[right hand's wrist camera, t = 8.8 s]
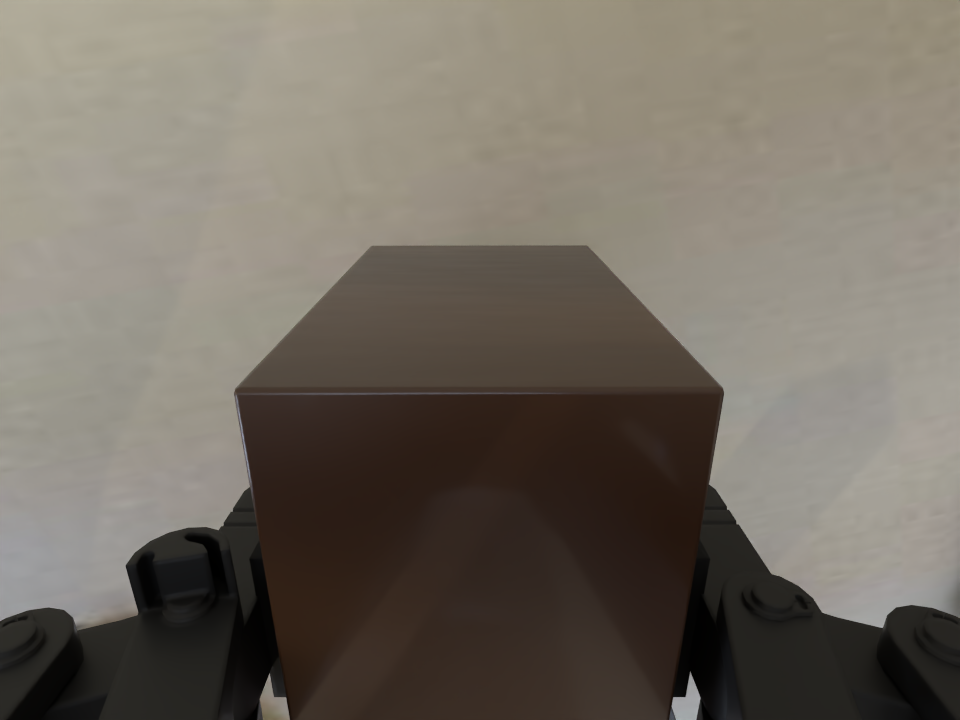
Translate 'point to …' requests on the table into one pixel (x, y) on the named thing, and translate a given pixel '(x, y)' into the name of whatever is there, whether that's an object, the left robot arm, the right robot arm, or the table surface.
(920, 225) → the table surface
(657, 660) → the bar
